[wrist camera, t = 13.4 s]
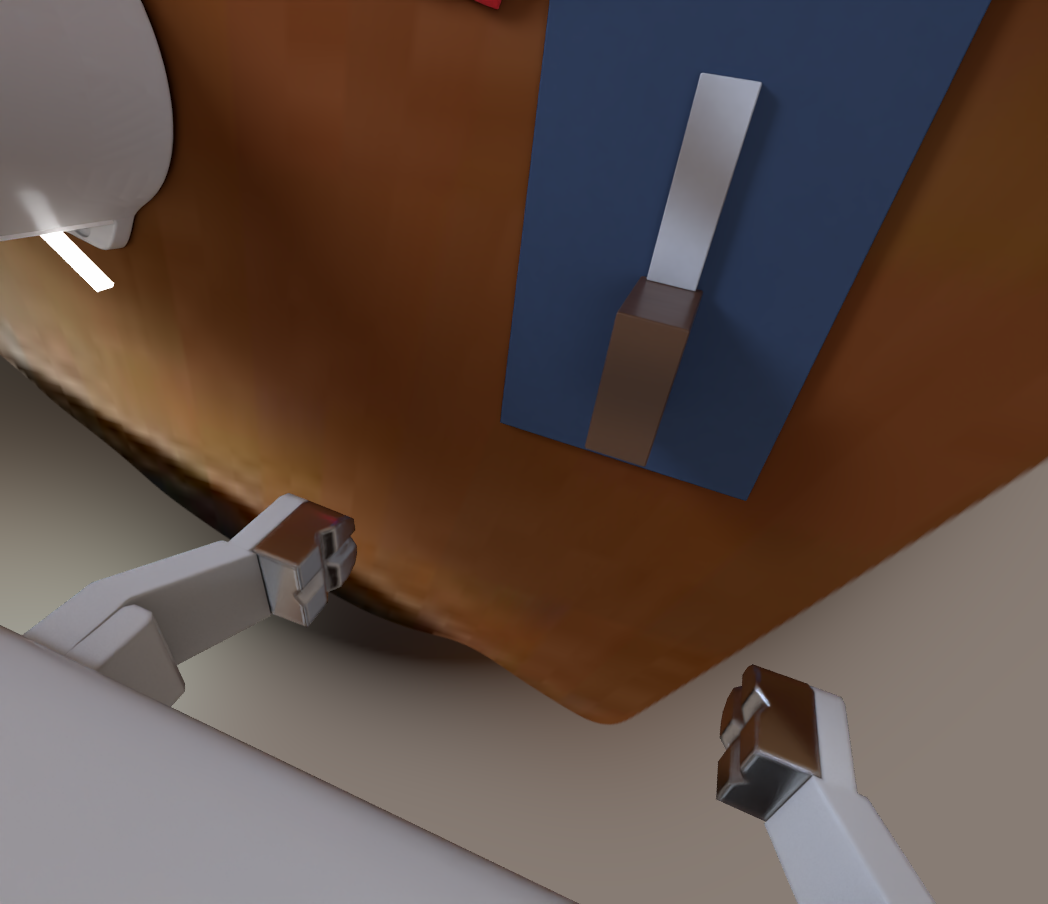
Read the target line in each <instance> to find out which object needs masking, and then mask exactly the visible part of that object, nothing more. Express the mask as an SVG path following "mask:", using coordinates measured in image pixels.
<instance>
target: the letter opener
mask: <svg viewBox="0 0 1048 904" xmlns="http://www.w3.org/2000/svg"><path fill="white" fill-rule="evenodd" d="M761 86H762V82H758V81H752V80H746V79H740V78H733V77H727V76H721V75H715V74H708V73H701V74H700V78H699V81H698V85H697V89H696V93H695V97H694V100H693V104H692V108H691V112H690V116H689V120H688V123H687V127H686V131H685V135H684V139H683V142H682V146H681V150H680V154H679V158H678V161H677V165H676V169H675V173H674V177H673V180H672V184H671V188H670V192H669V196H668V200H667V203H666V207H665V211H664V215H663V219H662V222H661V226H660V230H659V234H658V238H657V241H656V245H655V249H654V253H653V257H652V260H651V264H650V268H649V272H648V276H647V277H645V276H641V277H640V279H639V280H638V282H637V283H636V285H635V286H634V288H633V289H632V291H631V292H630V294H629V295H628V297H627V298H626V300H625V301H624V303H623V304H622V306H621V307H620V309H619V310H618V312H617V313H616V317H615V322H614V326H613V330H612V334H611V338H610V343H609V347H608V351H607V355H606V359H605V364H604V368H603V372H602V376H601V380H600V385H599V389H598V393H597V397H596V401H595V406H594V410H593V414H592V418H591V422H590V427H589V431H588V435H587V439H586V443H585V448H586V449H590V450H593V451H596V452H599V453H602V454H605V455H608V456H611V457H615V458H618V459H621V460H624V461H627V462H630V463H633V464H636V465H639V466H643V467H645V466H646V464H647V461H648V458H649V455H650V452H651V449H652V446H653V443H654V440H655V437H656V434H657V431H658V428H659V425H660V422H661V419H662V416H663V413H664V410H665V407H666V404H667V401H668V398H669V395H670V392H671V389H672V386H673V383H674V380H675V377H676V373H677V370H678V367H679V364H680V361H681V358H682V355H683V352H684V349H685V346H686V343H687V340H688V337H689V334H690V331H691V328H692V325H693V322H694V319H695V316H696V313H697V310H698V307H699V304H700V301H701V298H702V295H703V291H702V290H698V289H696V288H697V286H698V282H699V279H700V276H701V273H702V270H703V267H704V264H705V261H706V257H707V254H708V251H709V248H710V245H711V242H712V239H713V236H714V233H715V229H716V226H717V223H718V220H719V217H720V214H721V211H722V208H723V205H724V201H725V198H726V195H727V192H728V189H729V186H730V183H731V180H732V177H733V173H734V170H735V167H736V164H737V161H738V158H739V155H740V152H741V148H742V145H743V142H744V139H745V136H746V133H747V130H748V127H749V124H750V120H751V117H752V114H753V111H754V108H755V105H756V102H757V99H758V96H759V92H760V89H761Z"/></svg>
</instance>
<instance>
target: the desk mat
mask: <svg viewBox="0 0 1048 904" xmlns="http://www.w3.org/2000/svg"><path fill="white" fill-rule="evenodd" d="M990 2H991V0H550V2H549V11H548V19H547V28H546V36H545V45H544V53H543V62H542V71H541V79H540V88H539V96H538V105H537V113H536V122H535V130H534V139H533V147H532V156H531V164H530V173H529V181H528V190H527V198H526V207H525V215H524V224H523V233H522V241H521V250H520V258H519V267H518V275H517V284H516V292H515V301H514V309H513V318H512V326H511V335H510V343H509V352H508V360H507V369H506V377H505V386H504V395H503V403H502V412H501V420H500V422H501V423H503V424H507V425H510V426H513V427H516V428H519V429H522V430H525V431H529V432H532V433H535V434H538V435H541V436H544V437H547V438H550V439H554V440H557V441H560V442H563V443H566V444H569V445H572V446H576V447H579V448H582V449H585V450H588V451H591V452H594V453H597V454H601V455H604V456H607V457H610V458H613V459H616V460H619V461H623V462H626V463H629V464H632V465H635V466H638V467H641V468H644V469H648V470H651V471H654V472H657V473H660V474H663V475H666V476H669V477H673V478H676V479H679V480H682V481H685V482H688V483H691V484H695V485H698V486H701V487H704V488H707V489H710V490H713V491H716V492H720V493H723V494H726V495H729V496H732V497H735V498H738V499H742V500H745V501H746V500H747V498H748V496H749V494H750V492H751V490H752V488H753V486H754V484H755V482H756V480H757V478H758V476H759V474H760V472H761V470H762V468H763V466H764V463H765V461H766V459H767V457H768V455H769V453H770V451H771V449H772V447H773V445H774V443H775V441H776V439H777V437H778V435H779V433H780V431H781V429H782V427H783V425H784V423H785V421H786V419H787V417H788V414H789V412H790V410H791V408H792V406H793V404H794V402H795V400H796V398H797V396H798V394H799V392H800V390H801V388H802V386H803V384H804V382H805V380H806V378H807V376H808V374H809V372H810V370H811V368H812V365H813V363H814V361H815V359H816V357H817V355H818V353H819V351H820V349H821V347H822V345H823V343H824V341H825V339H826V337H827V335H828V333H829V331H830V329H831V327H832V325H833V323H834V321H835V319H836V316H837V314H838V312H839V310H840V308H841V306H842V304H843V302H844V300H845V298H846V296H847V294H848V292H849V290H850V288H851V286H852V284H853V282H854V280H855V278H856V276H857V274H858V272H859V270H860V267H861V265H862V263H863V261H864V259H865V257H866V255H867V253H868V251H869V249H870V247H871V245H872V243H873V241H874V239H875V237H876V235H877V233H878V231H879V229H880V227H881V225H882V223H883V221H884V219H885V216H886V214H887V212H888V210H889V208H890V206H891V204H892V202H893V200H894V198H895V196H896V194H897V192H898V190H899V188H900V186H901V184H902V182H903V180H904V178H905V176H906V174H907V172H908V170H909V167H910V165H911V163H912V161H913V159H914V157H915V155H916V153H917V151H918V149H919V147H920V145H921V143H922V141H923V139H924V137H925V135H926V133H927V131H928V129H929V127H930V125H931V123H932V121H933V118H934V116H935V114H936V112H937V110H938V108H939V106H940V104H941V102H942V100H943V98H944V96H945V94H946V92H947V90H948V88H949V86H950V84H951V82H952V80H953V78H954V76H955V74H956V72H957V69H958V67H959V65H960V63H961V61H962V59H963V57H964V55H965V53H966V51H967V49H968V47H969V45H970V43H971V41H972V39H973V37H974V35H975V33H976V31H977V29H978V27H979V25H980V23H981V20H982V18H983V16H984V14H985V12H986V10H987V8H988V6H989V4H990ZM701 73H708V74H715V75H721V76H727V77H733V78H740V79H746V80H752V81H758V82H762V86H761V89H760V92H759V96H758V99H757V102H756V105H755V108H754V111H753V114H752V117H751V120H750V124H749V127H748V130H747V133H746V136H745V139H744V142H743V145H742V148H741V152H740V155H739V158H738V161H737V164H736V167H735V170H734V173H733V177H732V180H731V183H730V186H729V189H728V192H727V195H726V198H725V201H724V205H723V208H722V211H721V214H720V217H719V220H718V223H717V226H716V229H715V233H714V236H713V239H712V242H711V245H710V248H709V251H708V254H707V257H706V261H705V264H704V267H703V270H702V273H701V276H700V279H699V282H698V286H697V288H696V289H698V290H702V291H703V295H702V298H701V301H700V304H699V307H698V310H697V313H696V316H695V319H694V322H693V325H692V328H691V331H690V334H689V337H688V340H687V343H686V346H685V349H684V352H683V355H682V358H681V361H680V364H679V367H678V370H677V373H676V377H675V380H674V383H673V386H672V389H671V392H670V395H669V398H668V401H667V404H666V407H665V410H664V413H663V416H662V419H661V422H660V425H659V428H658V431H657V434H656V437H655V440H654V443H653V446H652V449H651V452H650V455H649V458H648V461H647V464H646V466H645V467H643V466H639V465H636V464H633V463H630V462H627V461H624V460H621V459H618V458H615V457H611V456H608V455H605V454H602V453H599V452H596V451H593V450H590V449H586V448H585V443H586V439H587V435H588V431H589V427H590V422H591V418H592V414H593V410H594V406H595V401H596V397H597V393H598V389H599V385H600V380H601V376H602V372H603V368H604V364H605V359H606V355H607V351H608V347H609V343H610V338H611V334H612V330H613V326H614V322H615V317H616V313H617V312H618V310H619V309H620V307H621V306H622V304H623V303H624V301H625V300H626V298H627V297H628V295H629V294H630V292H631V291H632V289H633V288H634V286H635V285H636V283H637V282H638V280H639V279H640V277H641V276H645V277H647V276H648V272H649V268H650V264H651V260H652V257H653V253H654V249H655V245H656V241H657V238H658V234H659V230H660V226H661V222H662V219H663V215H664V211H665V207H666V203H667V200H668V196H669V192H670V188H671V184H672V180H673V177H674V173H675V169H676V165H677V161H678V158H679V154H680V150H681V146H682V142H683V139H684V135H685V131H686V127H687V123H688V120H689V116H690V112H691V108H692V104H693V100H694V97H695V93H696V89H697V85H698V81H699V78H700V74H701Z"/></svg>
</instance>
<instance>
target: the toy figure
mask: <svg viewBox="0 0 1048 904" xmlns="http://www.w3.org/2000/svg"><path fill="white" fill-rule="evenodd" d="M475 1H477V2H479V3H481V4H484V5H486V6H489V7H492V8H494V9H496V10H497V9H498V8H499V7H500V4H501V1H502V0H475Z"/></svg>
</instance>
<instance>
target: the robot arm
mask: <svg viewBox="0 0 1048 904" xmlns="http://www.w3.org/2000/svg"><path fill="white" fill-rule="evenodd" d="M172 148H173V113H172V104H171V97H170V90H169V85H168V80H167V76H166V71H165V67H164V63H163V60H162V56H161V53H160V49H159V46H158V43H157V40H156V37H155V34H154V32H153V29H152V26H151V24H150V21H149V18H148V16H147V14H146V11H145V9H144V6H143V4H142V2H141V0H0V241H6V240H12V239H19V238H25V237H32V236H39V235H40V236H41V237H42V238H43V239H44V240H45V241H46V242H47V243H48V244H49V245H50V246H51V247H52V248H53V249H54V250H55V251H56V252H57V253H58V254H59V255H60V256H61V257H62V258H63V259H64V260H65V261H66V262H67V263H68V264H69V265H70V266H71V267H72V268H73V269H74V270H75V271H77V272H78V273H79V274H80V275H81V276H82V277H83V278H84V279H85V280H86V281H87V282H88V283H89V284H90V285H91V286H92V287H93V288H94V289H95V290H96V291H97V292H98V291H102V290H105V289H108V288H111V287H113V285H114V283H113V282H112V281H111V280H110V279H109V278H108V277H107V276H106V275H105V274H104V273H103V272H102V271H101V270H100V269H99V268H98V267H97V266H96V265H95V264H94V263H93V262H92V261H91V260H90V259H89V258H88V257H87V256H86V255H85V254H84V253H83V252H82V251H81V250H80V249H79V248H78V247H77V246H76V245H75V244H74V243H73V242H72V241H71V240H70V239H69V238H68V237H67V236H66V235H65V234H64V233H63V232H64V231H66V232H68V233H70V234H72V235H74V236H76V237H78V238H80V239H82V240H84V241H85V242H87V243H89V244H91V245H93V246H95V247H97V248H99V249H102V250H110V249H118V248H123V247H124V246H125V245H126V244H127V242H128V240H129V237H130V234H131V230H132V225H133V220H134V216H135V214H136V213H137V211H138V210H139V209H140V208H141V207H142V206H144V205H145V204H146V203H147V202H148V201H150V200H151V199H152V198H153V197H154V196H155V195H156V193H157V192H158V191H159V189H160V188H161V186H162V184H163V182H164V180H165V178H166V175H167V172H168V169H169V165H170V161H171V155H172ZM354 531H355V525H354V519H353V518H351V517H348V516H346V515H343V514H341V513H338V512H336V511H333V510H331V509H328V508H326V507H323V506H321V505H318V504H316V503H314V502H311V501H308V500H306V499H303V498H301V497H298V496H295V495H293V494H290V493H288V494H285V495H282V496H280V497H279V498H278V499H277V500H276V501H274V502H273V503H272V504H271V505H270V506H269V507H268V508H266V509H265V510H264V511H263V512H262V513H261V514H260V515H259V516H257V517H256V518H255V519H254V520H253V521H252V522H251V523H249V524H248V525H247V526H246V527H245V528H244V529H243V530H241V531H240V532H239V533H238V534H237V535H236V536H235V537H233V538H232V539H231V540H230V541H229V542H226V541H223V540H221V541H218V542H215V543H211V544H209V545H205V546H202V547H199V548H196V549H193V550H190V551H187V552H184V553H181V554H178V555H175V556H171V557H168V558H165V559H162V560H159V561H156V562H153V563H150V564H147V565H144V566H141V567H138V568H135V569H131V570H128V571H126V572H122V573H119V574H116V575H113V576H110V577H107V578H104V579H101V580H98V581H95V582H92V583H90V584H89V585H88V586H86V587H85V588H84V589H82V590H81V591H80V592H78V593H77V594H76V595H74V596H73V597H72V598H70V599H69V600H68V601H67V602H65V603H64V604H63V605H61V606H60V607H59V608H57V609H56V610H55V611H53V612H52V613H51V614H50V615H48V616H47V617H46V618H44V619H43V620H42V621H40V622H39V623H38V624H37V625H35V626H34V627H32V628H31V629H30V630H28V631H27V632H26V633H24V635H20V634H18V633H16V632H13V631H12V630H9V629H7V628H5V627H3V626H1V625H0V904H579V903H577V902H575V901H573V900H570V899H568V898H566V897H564V896H562V895H560V894H558V893H556V892H554V891H551V890H550V889H548V888H546V887H543V886H541V885H539V884H537V883H535V882H533V881H531V880H529V879H527V878H525V877H523V876H521V875H519V874H516V873H514V872H512V871H510V870H508V869H506V868H504V867H502V866H500V865H498V864H495V863H494V862H492V861H489V860H487V859H485V858H483V857H481V856H479V855H477V854H475V853H472V852H471V851H469V850H466V849H464V848H462V847H460V846H458V845H456V844H454V843H452V842H450V841H448V840H446V839H444V838H442V837H440V836H438V835H435V834H433V833H431V832H429V831H427V830H425V829H423V828H421V827H419V826H417V825H415V824H413V823H411V822H408V821H406V820H404V819H402V818H400V817H398V816H396V815H394V814H392V813H390V812H388V811H386V810H383V809H381V808H379V807H377V806H375V805H373V804H371V803H369V802H367V801H365V800H363V799H361V798H359V797H356V796H354V795H352V794H350V793H348V792H346V791H344V790H342V789H340V788H338V787H336V786H334V785H331V784H330V783H327V782H325V781H323V780H321V779H319V778H317V777H315V776H313V775H311V774H308V773H307V772H305V771H303V770H300V769H298V768H296V767H294V766H292V765H290V764H288V763H286V762H284V761H282V760H280V759H278V758H275V757H273V756H271V755H269V754H267V753H265V752H263V751H261V750H259V749H257V748H255V747H253V746H251V745H248V744H246V743H244V742H242V741H240V740H238V739H236V738H234V737H232V736H230V735H228V734H226V733H224V732H221V731H219V730H217V729H215V728H213V727H211V726H209V725H207V724H205V723H203V722H201V721H199V720H196V719H194V718H192V717H190V716H188V715H186V714H184V713H182V712H180V711H178V710H176V709H174V708H171V706H172V705H173V704H174V703H175V702H176V701H177V699H178V698H179V697H180V696H181V695H182V694H183V693H184V692H185V683H184V680H183V678H182V676H181V674H180V672H179V670H178V667H177V665H178V664H180V663H182V662H184V661H186V660H187V659H189V658H191V657H193V656H195V655H197V654H199V653H201V652H203V651H205V650H207V649H208V648H210V647H212V646H214V645H216V644H218V643H220V642H222V641H223V640H226V639H227V638H230V637H231V636H233V635H235V634H237V633H239V632H241V631H243V630H245V629H247V628H249V627H251V626H252V625H254V624H256V623H258V622H260V621H262V620H264V619H266V618H268V617H270V616H271V613H272V614H275V615H277V616H280V617H282V618H285V619H288V620H290V621H293V622H295V623H298V624H301V625H303V626H306V627H308V626H309V625H310V623H311V622H312V621H313V620H314V619H315V617H316V616H317V615H318V614H319V612H320V611H321V610H322V609H323V608H324V606H325V605H326V604H327V603H328V592H329V591H331V590H334V589H336V588H338V587H341V586H342V584H343V583H344V582H345V581H346V579H347V578H348V577H349V575H350V573H351V571H352V569H353V567H354V565H355V561H356V556H357V545H356V544H355V542H354V541H353V539H352V538H351V537H350V536H351V534H352V533H353V532H354ZM720 739H721V741H722V743H723V745H724V747H725V749H726V752H725V753H724V754H723V756H722V757H721V759H720V760H719V761H718V774H717V794H716V799H717V800H719V801H721V802H723V803H726V804H728V805H730V806H732V807H734V808H737V809H739V810H741V811H743V812H746V813H748V814H750V815H752V816H754V817H757V818H759V819H761V820H764V821H766V823H765V827H766V829H767V831H768V834H769V836H770V838H771V841H772V843H773V846H774V848H775V851H776V853H777V855H778V857H779V860H780V863H781V865H782V867H783V870H784V872H785V875H786V877H787V879H788V882H789V884H790V886H791V889H792V891H793V894H794V896H795V899H796V901H797V903H798V904H936V902H935V901H934V899H933V898H932V897H931V895H930V893H929V892H928V890H927V889H926V887H925V885H924V884H923V883H922V881H921V879H920V878H919V876H918V875H917V873H916V872H915V870H914V869H913V867H912V865H911V864H910V862H909V861H908V859H907V858H906V857H905V855H904V853H903V852H902V850H901V849H900V847H899V846H898V844H897V842H896V841H895V839H894V838H893V836H892V835H891V833H890V832H889V830H888V829H887V827H886V826H885V824H884V823H883V821H882V819H881V818H880V816H879V815H878V813H877V812H876V810H875V809H874V807H873V806H872V804H871V802H870V801H869V799H868V798H867V797H865V796H863V795H860V794H858V792H857V785H856V778H855V770H854V763H853V756H852V749H851V742H850V735H849V728H848V721H847V714H846V706H845V703H844V701H843V699H842V697H840V696H837V695H835V694H832V693H829V692H826V691H823V690H821V689H818V688H815V687H813V686H809V685H808V684H807V683H804V682H801V681H798V680H795V679H792V678H789V677H787V676H784V675H781V674H778V673H775V672H773V671H770V670H767V669H764V668H761V667H759V666H756V665H753V664H752V665H751V666H749V667H748V668H747V669H746V670H745V672H744V674H743V677H742V686H740V687H736V688H733V690H732V692H731V693H730V695H729V697H728V698H727V702H726V704H725V707H724V711H723V714H722V720H721V727H720Z"/></svg>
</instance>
